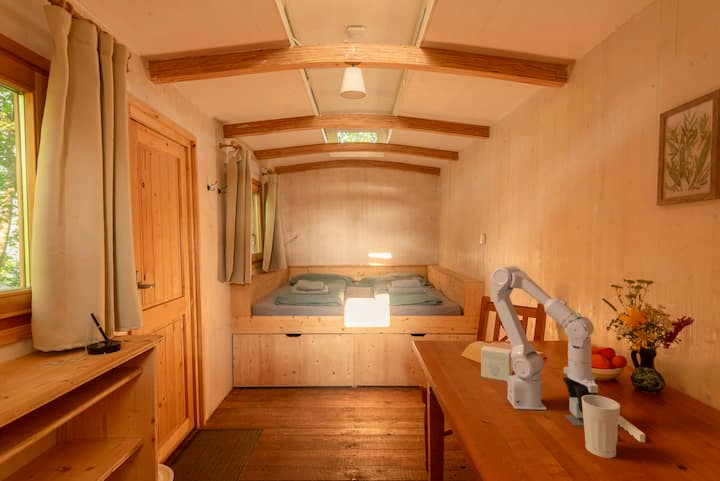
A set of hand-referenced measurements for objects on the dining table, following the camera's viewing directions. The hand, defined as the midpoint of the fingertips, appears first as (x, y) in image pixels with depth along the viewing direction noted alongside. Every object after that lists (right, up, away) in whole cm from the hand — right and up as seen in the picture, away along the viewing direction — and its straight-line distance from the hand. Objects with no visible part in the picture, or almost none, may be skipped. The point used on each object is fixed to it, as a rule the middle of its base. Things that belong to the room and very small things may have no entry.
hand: (579, 407), depth 104 cm
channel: (+7, -4, -4) cm, 9 cm away
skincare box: (-11, -4, +34) cm, 36 cm away
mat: (0, -4, 0) cm, 4 cm away
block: (0, -2, 0) cm, 2 cm away
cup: (-4, -4, -14) cm, 15 cm away
